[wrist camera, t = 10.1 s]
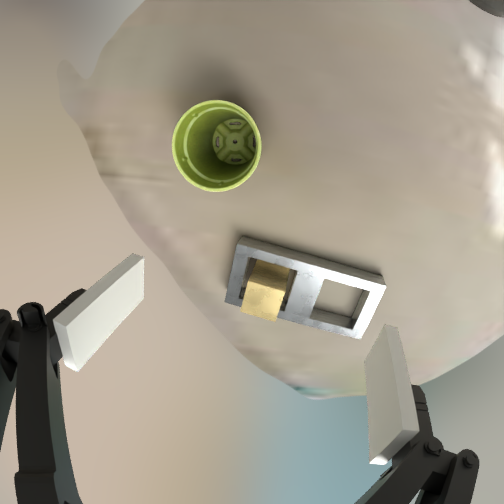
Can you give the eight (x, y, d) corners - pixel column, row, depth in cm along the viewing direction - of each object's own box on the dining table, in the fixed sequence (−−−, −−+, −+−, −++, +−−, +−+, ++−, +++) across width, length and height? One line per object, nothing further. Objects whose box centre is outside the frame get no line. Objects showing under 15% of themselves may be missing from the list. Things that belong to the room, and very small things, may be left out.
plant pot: (202, 179, 40) (175, 193, 32) (197, 108, 36) (168, 106, 29) (274, 177, 38) (263, 191, 30) (270, 103, 35) (258, 96, 27)
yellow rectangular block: (258, 257, 43) (248, 280, 37) (290, 266, 42) (285, 291, 36) (251, 284, 45) (240, 311, 38) (281, 293, 44) (275, 321, 38)
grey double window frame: (242, 235, 42) (237, 243, 39) (382, 275, 40) (386, 286, 38) (230, 291, 46) (224, 302, 43) (358, 327, 44) (360, 339, 41)
